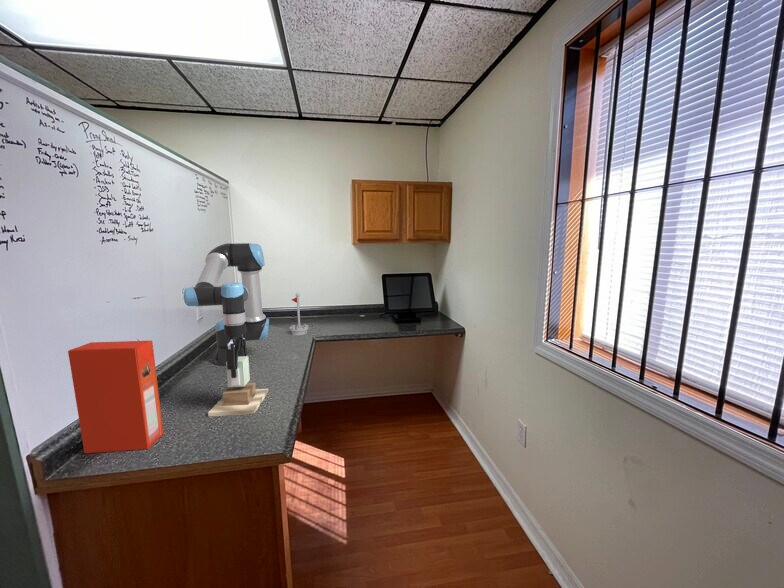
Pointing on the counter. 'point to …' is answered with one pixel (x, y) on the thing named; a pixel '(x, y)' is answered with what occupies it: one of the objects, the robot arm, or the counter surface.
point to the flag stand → (298, 329)
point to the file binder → (116, 395)
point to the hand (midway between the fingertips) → (239, 381)
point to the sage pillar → (240, 372)
